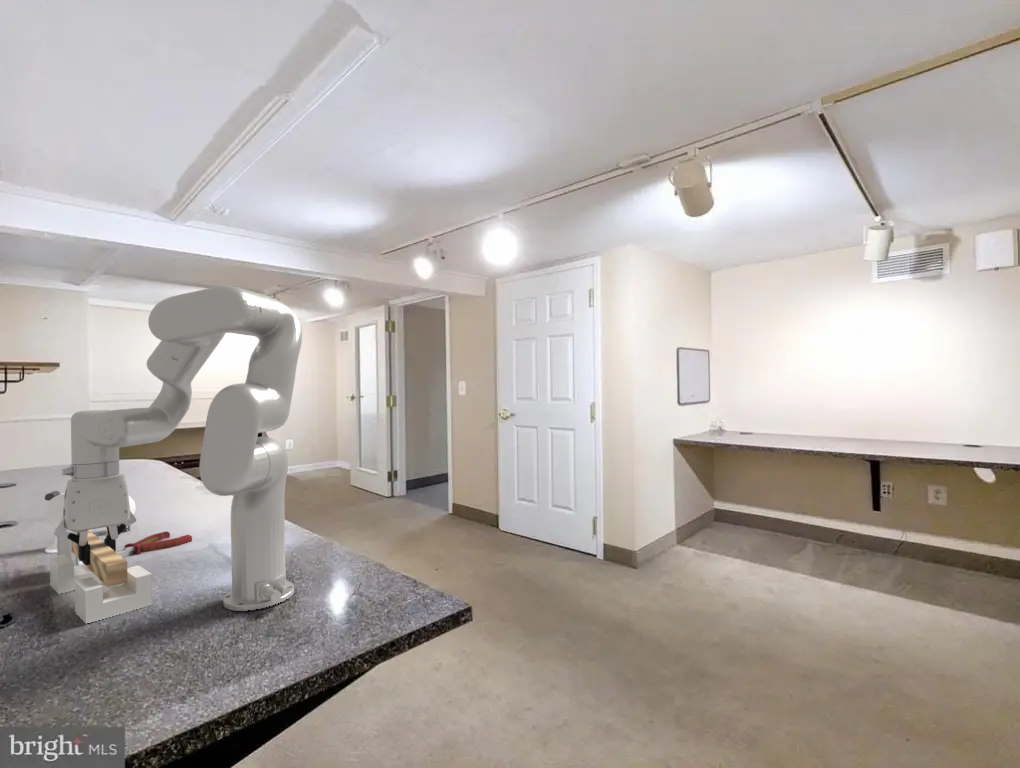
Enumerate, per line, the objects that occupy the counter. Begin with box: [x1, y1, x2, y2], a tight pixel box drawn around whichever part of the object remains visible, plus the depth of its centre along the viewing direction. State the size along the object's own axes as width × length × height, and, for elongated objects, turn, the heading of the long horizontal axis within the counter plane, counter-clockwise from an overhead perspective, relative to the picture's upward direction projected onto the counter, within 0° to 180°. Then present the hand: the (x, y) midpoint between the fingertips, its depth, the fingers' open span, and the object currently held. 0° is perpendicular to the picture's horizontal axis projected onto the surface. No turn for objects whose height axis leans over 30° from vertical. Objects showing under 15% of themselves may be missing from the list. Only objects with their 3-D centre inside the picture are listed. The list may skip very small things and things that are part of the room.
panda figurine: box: [44, 490, 92, 554], centre depth 136 cm, size 12×11×15 cm
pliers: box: [116, 531, 193, 558], centre depth 131 cm, size 12×20×3 cm, turn 157°
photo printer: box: [56, 529, 83, 566], centre depth 116 cm, size 10×4×12 cm, turn 29°
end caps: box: [49, 551, 153, 625], centre depth 103 cm, size 30×10×6 cm, turn 51°
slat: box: [72, 530, 128, 588], centre depth 103 cm, size 28×3×4 cm, turn 51°
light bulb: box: [121, 494, 136, 533], centre depth 150 cm, size 7×7×11 cm
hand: (97, 560), depth 103 cm, fingers closed on slat, 3 cm apart
